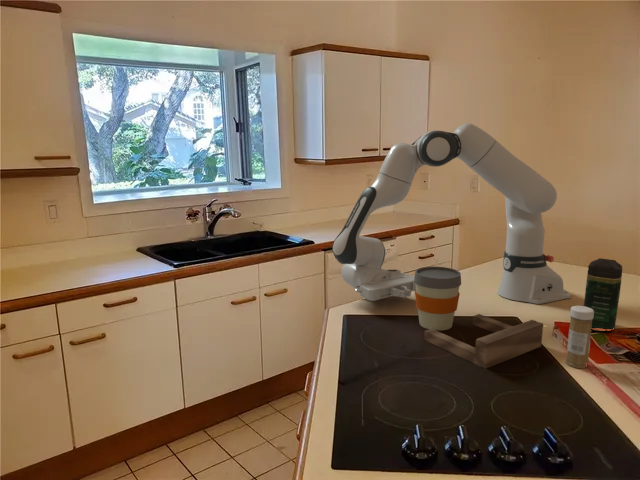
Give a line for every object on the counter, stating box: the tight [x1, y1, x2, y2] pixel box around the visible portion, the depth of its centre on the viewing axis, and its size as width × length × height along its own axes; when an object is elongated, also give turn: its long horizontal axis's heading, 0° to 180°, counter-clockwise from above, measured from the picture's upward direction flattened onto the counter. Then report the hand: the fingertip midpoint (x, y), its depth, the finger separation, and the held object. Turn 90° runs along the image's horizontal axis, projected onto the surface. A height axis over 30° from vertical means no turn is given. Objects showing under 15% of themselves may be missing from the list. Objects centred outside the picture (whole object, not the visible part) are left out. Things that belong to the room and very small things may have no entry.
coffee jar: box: [583, 257, 623, 329], centre depth 127 cm, size 10×8×19 cm
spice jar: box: [565, 305, 594, 369], centre depth 106 cm, size 5×5×14 cm
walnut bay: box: [423, 313, 544, 370], centre depth 119 cm, size 19×21×6 cm
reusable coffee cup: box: [414, 266, 462, 331], centre depth 130 cm, size 12×13×15 cm
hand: (407, 294), depth 140 cm, fingers closed
